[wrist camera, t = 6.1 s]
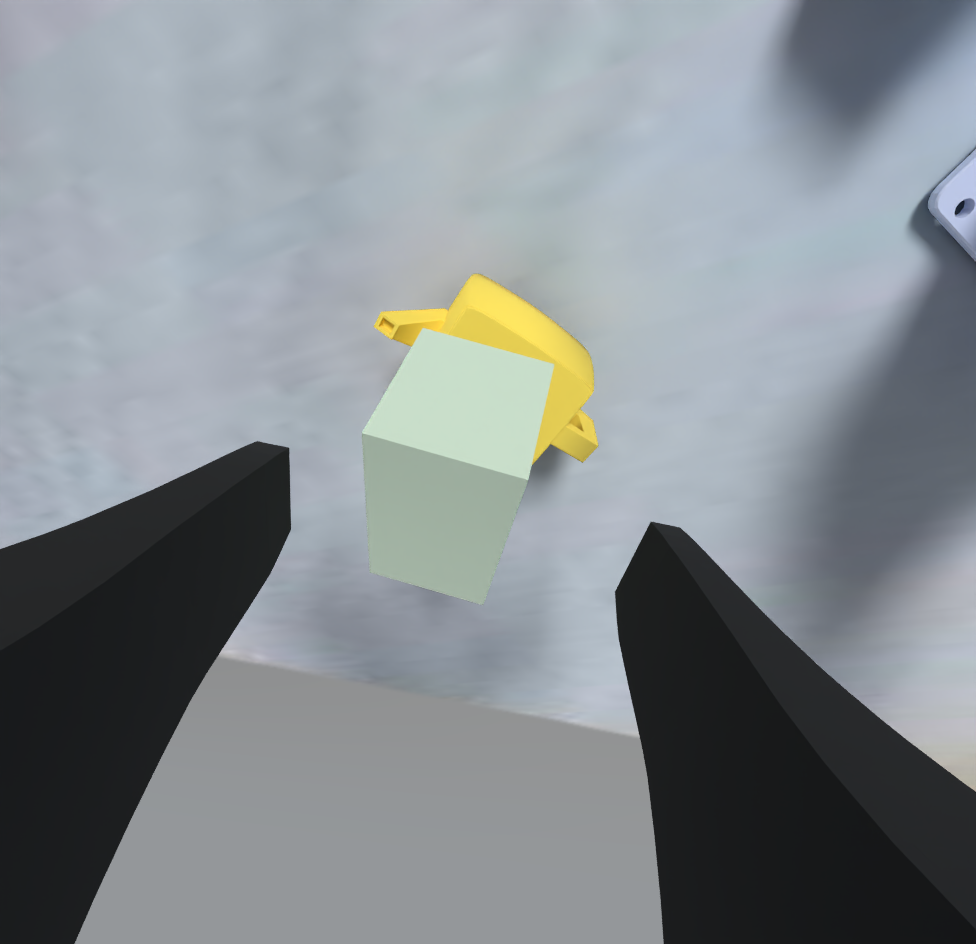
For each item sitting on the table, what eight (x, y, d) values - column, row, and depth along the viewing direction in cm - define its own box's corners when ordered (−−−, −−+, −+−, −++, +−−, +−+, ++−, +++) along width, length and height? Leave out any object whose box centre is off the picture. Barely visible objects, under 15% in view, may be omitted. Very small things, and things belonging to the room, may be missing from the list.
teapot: (363, 364, 19) (318, 424, 15) (436, 228, 16) (406, 253, 12) (528, 463, 21) (530, 541, 17) (617, 358, 18) (648, 419, 14)
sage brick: (422, 327, 12) (361, 433, 10) (554, 364, 12) (528, 479, 10) (413, 474, 17) (369, 572, 14) (509, 501, 17) (482, 605, 14)
